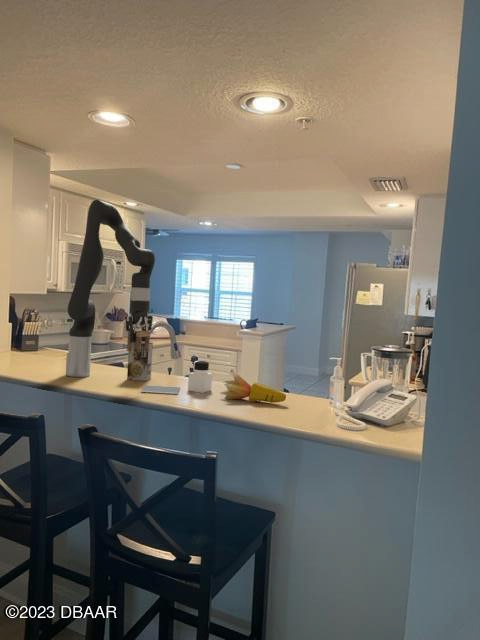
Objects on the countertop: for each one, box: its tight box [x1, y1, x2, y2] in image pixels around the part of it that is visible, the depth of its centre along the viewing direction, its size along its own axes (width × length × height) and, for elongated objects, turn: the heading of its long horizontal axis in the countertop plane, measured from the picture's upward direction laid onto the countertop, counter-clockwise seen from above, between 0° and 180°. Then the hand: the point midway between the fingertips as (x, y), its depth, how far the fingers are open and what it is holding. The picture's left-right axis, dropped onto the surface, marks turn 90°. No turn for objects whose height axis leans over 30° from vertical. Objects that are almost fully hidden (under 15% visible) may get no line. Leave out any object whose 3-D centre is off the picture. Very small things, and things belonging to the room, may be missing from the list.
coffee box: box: [126, 341, 154, 382], centre depth 198 cm, size 9×6×16 cm
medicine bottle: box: [187, 360, 213, 394], centre depth 183 cm, size 7×7×12 cm
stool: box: [126, 329, 151, 352], centre depth 179 cm, size 6×6×8 cm
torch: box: [219, 372, 287, 404], centre depth 172 cm, size 8×8×25 cm
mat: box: [140, 384, 181, 396], centre depth 179 cm, size 14×12×1 cm
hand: (138, 341), depth 179 cm, fingers closed on stool, 6 cm apart
